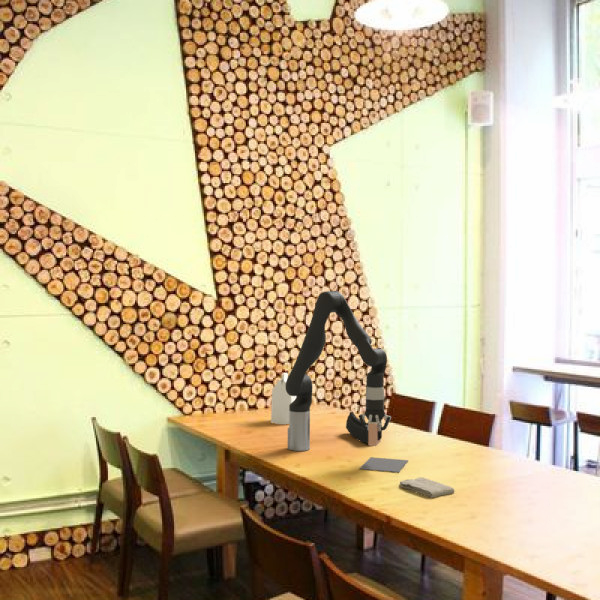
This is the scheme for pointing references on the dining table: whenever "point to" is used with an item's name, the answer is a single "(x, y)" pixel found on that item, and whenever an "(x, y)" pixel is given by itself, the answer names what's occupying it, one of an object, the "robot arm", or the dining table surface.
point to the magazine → (356, 428)
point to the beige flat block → (373, 434)
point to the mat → (384, 464)
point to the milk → (281, 402)
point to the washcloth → (426, 487)
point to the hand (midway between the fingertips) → (374, 439)
